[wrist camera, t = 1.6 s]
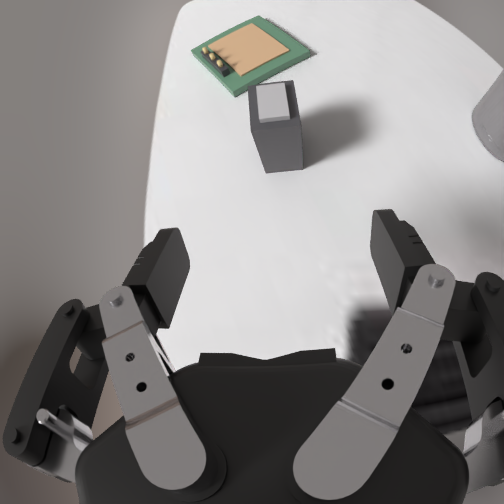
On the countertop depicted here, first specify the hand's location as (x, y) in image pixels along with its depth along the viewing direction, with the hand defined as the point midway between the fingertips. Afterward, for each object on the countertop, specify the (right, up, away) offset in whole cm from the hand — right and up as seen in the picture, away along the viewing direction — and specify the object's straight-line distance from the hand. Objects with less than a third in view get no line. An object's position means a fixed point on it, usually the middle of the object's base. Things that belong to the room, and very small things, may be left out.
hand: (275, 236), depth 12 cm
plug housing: (+2, +10, +19) cm, 22 cm away
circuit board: (-1, +27, +22) cm, 34 cm away
